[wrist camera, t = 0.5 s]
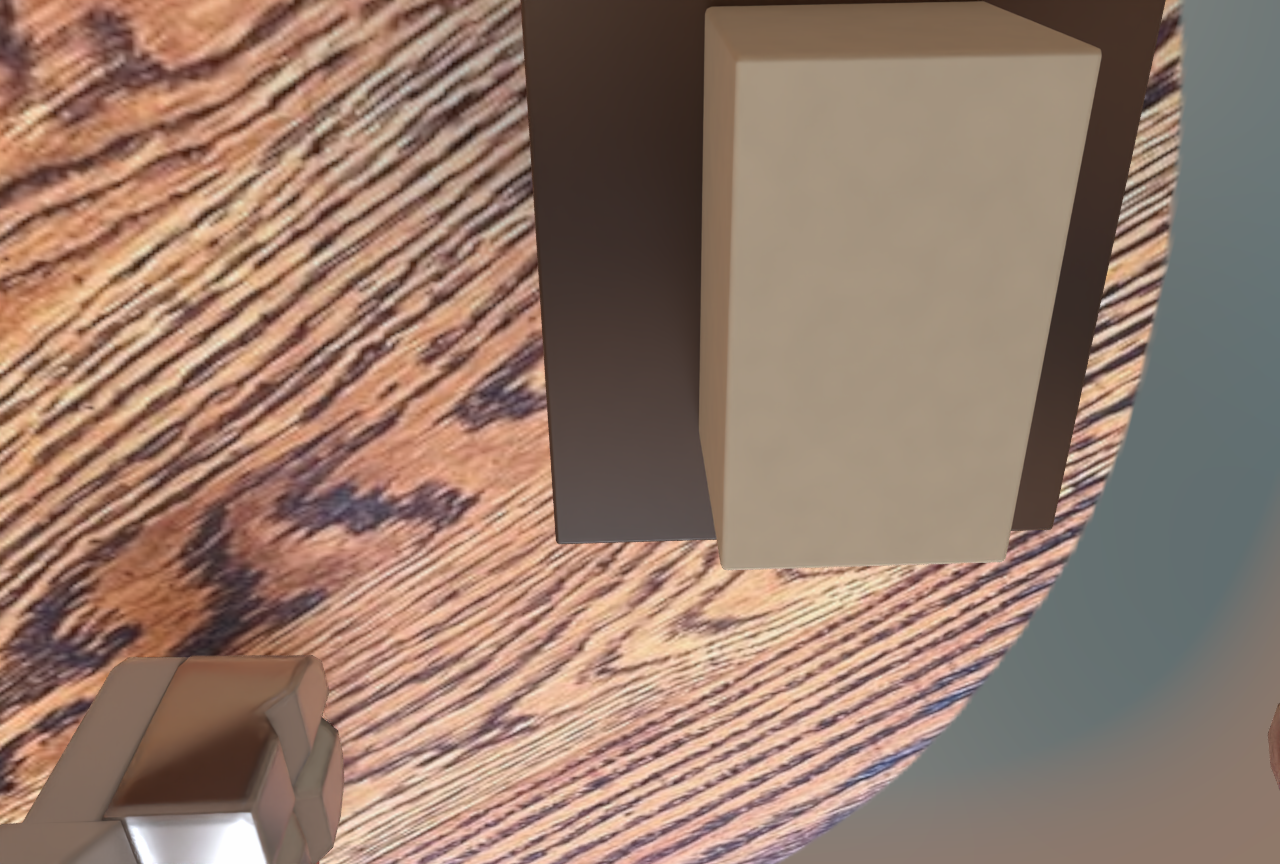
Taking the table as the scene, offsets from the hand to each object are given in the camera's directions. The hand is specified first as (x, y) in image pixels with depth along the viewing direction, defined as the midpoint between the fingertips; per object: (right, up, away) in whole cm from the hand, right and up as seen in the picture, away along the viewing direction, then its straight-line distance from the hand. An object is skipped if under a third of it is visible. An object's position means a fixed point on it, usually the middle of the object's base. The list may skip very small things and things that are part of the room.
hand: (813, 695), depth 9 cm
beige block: (+1, +5, +6) cm, 7 cm away
